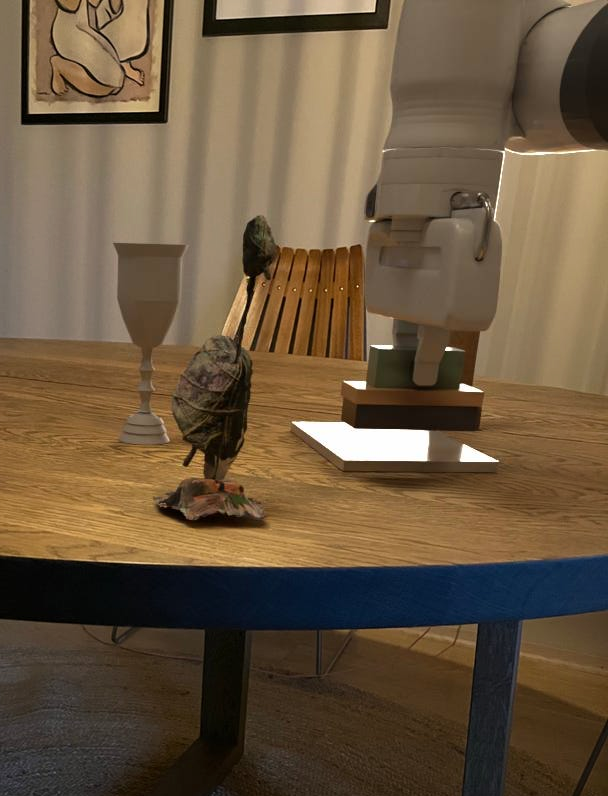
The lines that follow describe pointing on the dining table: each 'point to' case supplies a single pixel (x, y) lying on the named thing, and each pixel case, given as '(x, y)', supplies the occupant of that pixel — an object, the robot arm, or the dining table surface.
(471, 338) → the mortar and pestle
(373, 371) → the brush
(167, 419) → the dining table surface
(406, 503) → the dining table surface
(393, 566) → the dining table surface
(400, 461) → the tile
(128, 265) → the chalice
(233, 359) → the plant with pod
